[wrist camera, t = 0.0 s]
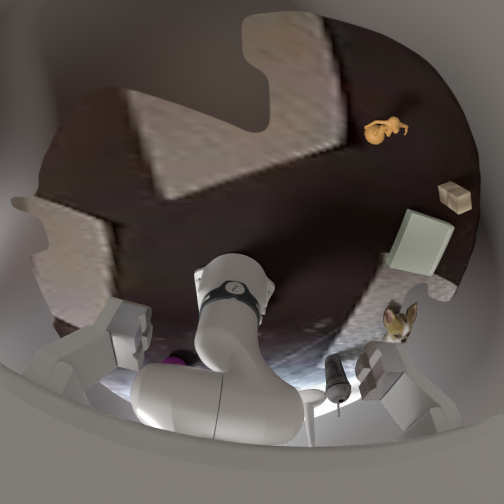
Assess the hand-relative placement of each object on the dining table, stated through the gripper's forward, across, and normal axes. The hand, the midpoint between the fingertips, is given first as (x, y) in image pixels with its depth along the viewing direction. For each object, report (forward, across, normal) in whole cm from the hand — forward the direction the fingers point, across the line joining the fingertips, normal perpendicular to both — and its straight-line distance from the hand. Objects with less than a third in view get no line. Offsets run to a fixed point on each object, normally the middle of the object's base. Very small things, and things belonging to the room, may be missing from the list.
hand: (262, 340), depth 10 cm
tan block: (+48, +43, +2) cm, 64 cm away
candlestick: (+48, +33, -77) cm, 96 cm away
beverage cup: (+48, +33, -54) cm, 79 cm away
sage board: (+48, +41, -12) cm, 64 cm away
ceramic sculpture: (+48, +46, -36) cm, 76 cm away
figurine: (+48, +20, +9) cm, 53 cm away
